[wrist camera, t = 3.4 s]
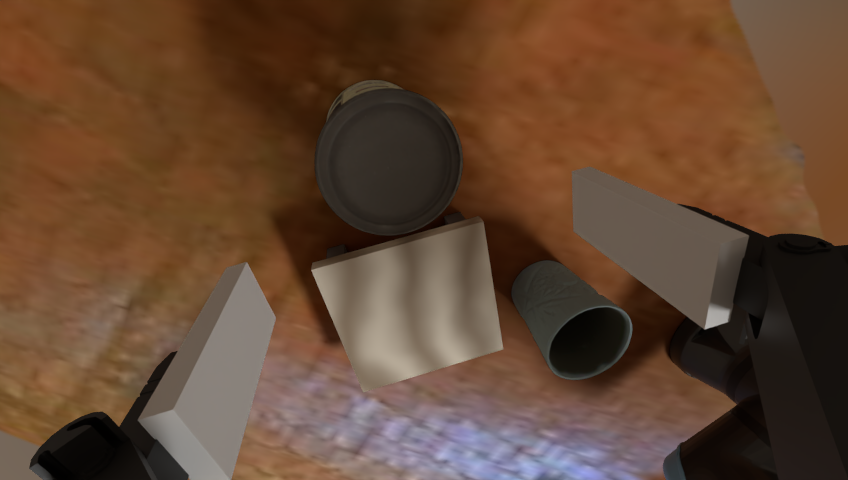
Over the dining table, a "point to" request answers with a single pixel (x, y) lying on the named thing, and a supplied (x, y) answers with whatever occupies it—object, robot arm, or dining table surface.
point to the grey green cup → (570, 320)
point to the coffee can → (387, 159)
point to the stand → (413, 301)
